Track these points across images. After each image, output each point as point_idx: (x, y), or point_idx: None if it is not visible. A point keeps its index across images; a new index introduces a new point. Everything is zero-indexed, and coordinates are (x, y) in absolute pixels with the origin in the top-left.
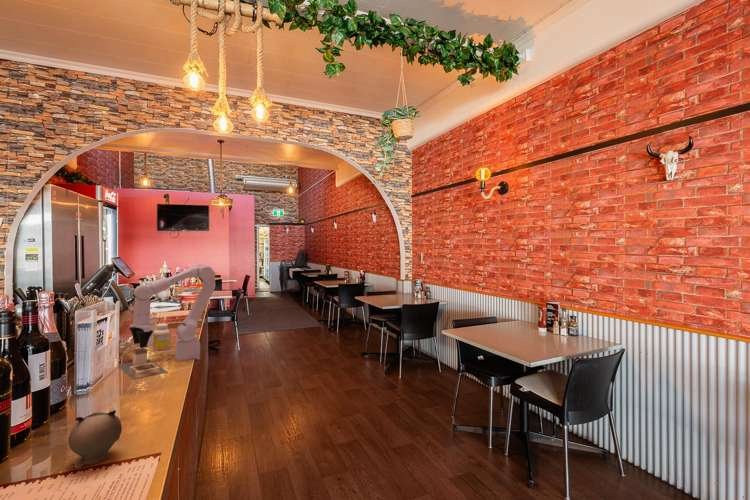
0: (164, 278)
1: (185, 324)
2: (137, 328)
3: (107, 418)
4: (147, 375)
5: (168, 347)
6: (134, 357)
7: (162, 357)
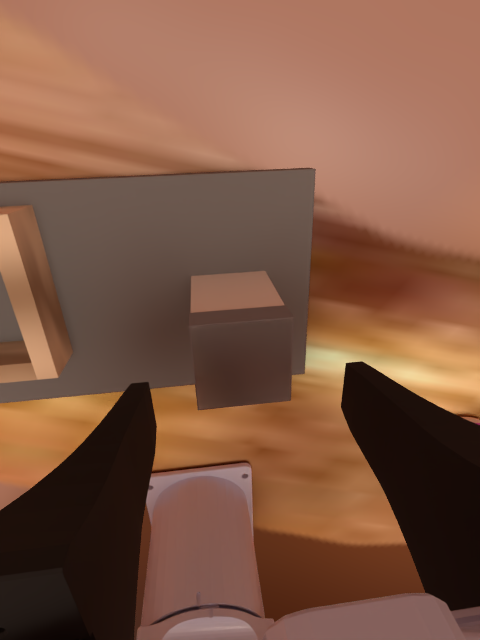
0: None
1: None
2: (473, 563)
3: None
4: None
5: None
6: (232, 296)
7: (320, 431)
